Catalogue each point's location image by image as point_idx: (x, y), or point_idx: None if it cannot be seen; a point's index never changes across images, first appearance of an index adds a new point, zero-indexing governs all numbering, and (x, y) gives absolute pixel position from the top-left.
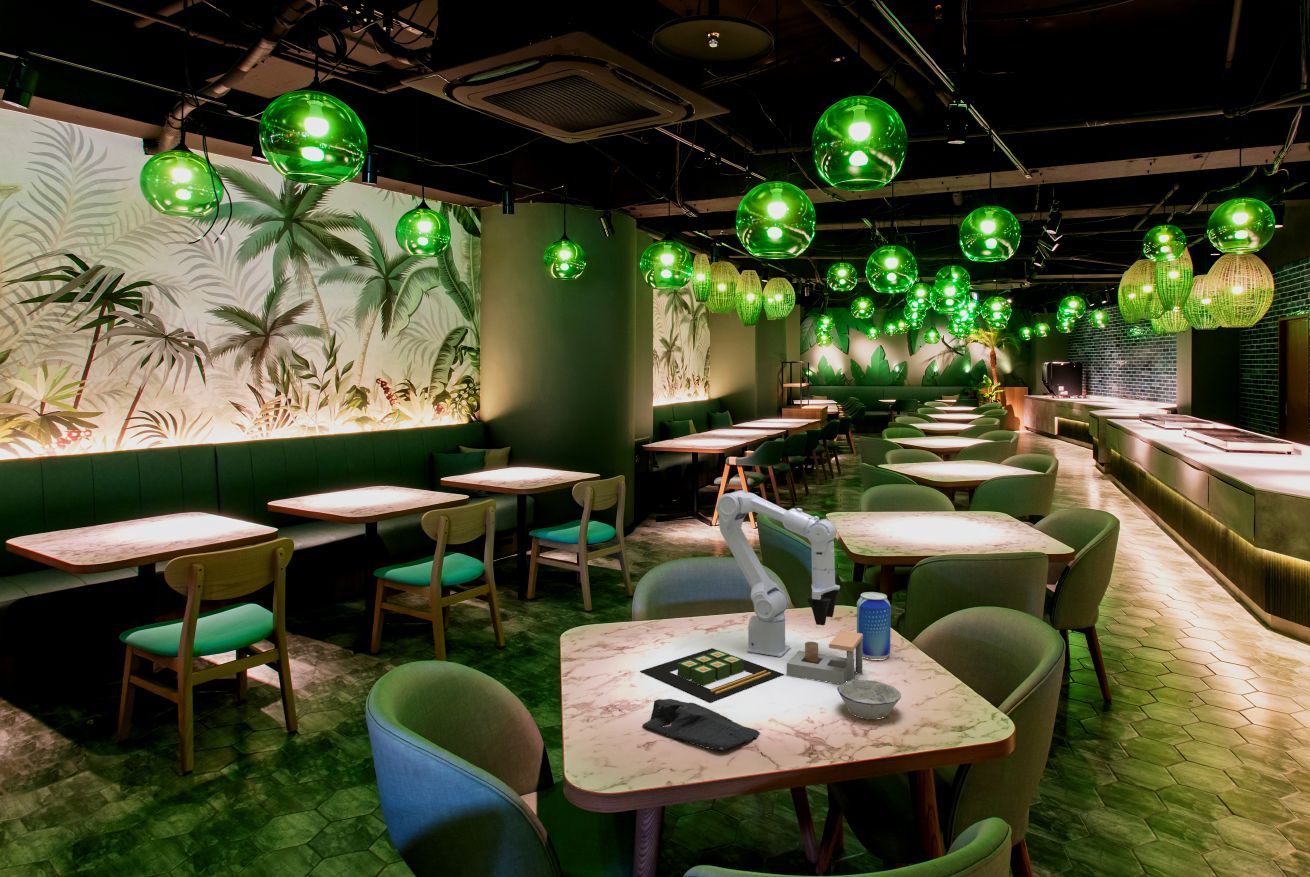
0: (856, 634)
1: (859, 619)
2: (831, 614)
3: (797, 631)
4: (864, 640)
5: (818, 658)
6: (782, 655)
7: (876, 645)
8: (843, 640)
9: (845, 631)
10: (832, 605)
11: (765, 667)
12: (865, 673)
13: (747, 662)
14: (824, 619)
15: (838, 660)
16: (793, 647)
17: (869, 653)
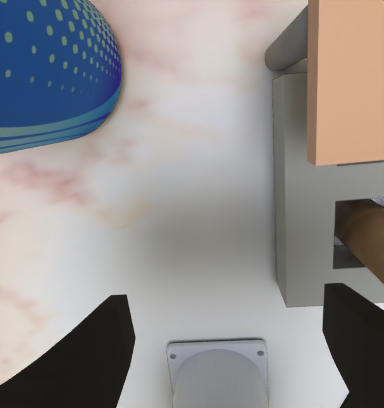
0: (365, 17)
1: (21, 116)
2: (121, 309)
3: (7, 371)
4: (98, 79)
5: (332, 218)
6: (252, 340)
7: (90, 12)
8: None
9: (322, 126)
10: (86, 359)
11: None
12: (276, 27)
13: None
14: (376, 307)
15: None
16: (152, 337)
17: (118, 58)
